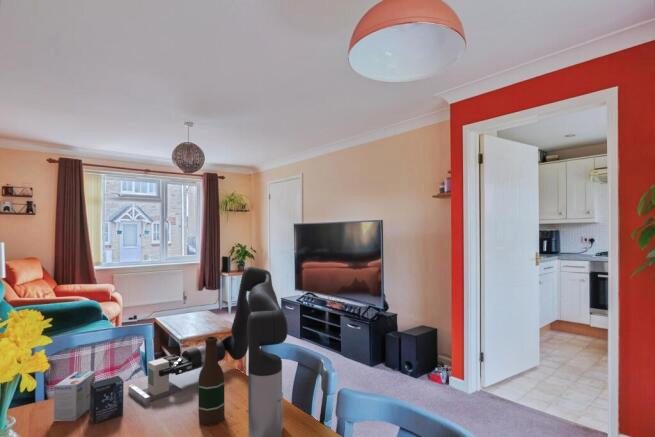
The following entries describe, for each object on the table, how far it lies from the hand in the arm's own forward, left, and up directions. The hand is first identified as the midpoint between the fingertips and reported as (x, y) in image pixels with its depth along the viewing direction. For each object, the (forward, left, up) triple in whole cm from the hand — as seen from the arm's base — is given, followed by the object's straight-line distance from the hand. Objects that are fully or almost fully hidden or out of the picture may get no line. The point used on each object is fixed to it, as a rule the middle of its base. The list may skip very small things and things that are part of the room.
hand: (153, 370), depth 127 cm
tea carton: (-1, -1, -7) cm, 8 cm away
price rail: (+3, +3, -8) cm, 9 cm away
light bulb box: (+19, +12, -8) cm, 24 cm away
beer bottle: (-24, +19, -8) cm, 32 cm away
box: (+8, +15, -8) cm, 19 cm away
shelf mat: (-1, -1, -8) cm, 8 cm away
